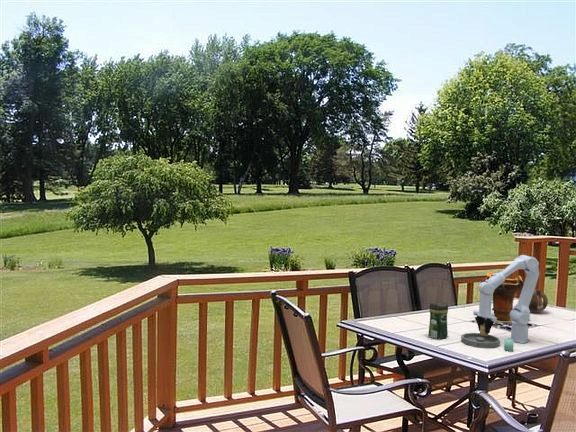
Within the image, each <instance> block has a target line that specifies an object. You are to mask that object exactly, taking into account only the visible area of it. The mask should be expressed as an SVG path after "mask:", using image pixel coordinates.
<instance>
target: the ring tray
mask: <svg viewBox="0 0 576 432" xmlns="http://www.w3.org/2000/svg"><path fill="white" fill-rule="evenodd" d="M460 338H461V343H463V344H464V345H467V346H469V347H472V348H473V347H474V348H481V349H494V348H498V347H499V346H500V344H501V340H500V338H499V337H497V336H495V335H493V334H488V336H482V335H480V332H479V333H478V332H467V333H463V334H461V335H460Z"/></svg>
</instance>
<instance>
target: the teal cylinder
mask: <svg viewBox="0 0 576 432" xmlns="http://www.w3.org/2000/svg"><path fill="white" fill-rule="evenodd" d="M503 345H504V346H503V348H504V349H503V351H504V350H505V351H504V352H507V351H508V352H509V353H512V352H514V341H513V340H510V338H506V339H504V344H503Z"/></svg>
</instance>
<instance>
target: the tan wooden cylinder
mask: <svg viewBox="0 0 576 432" xmlns="http://www.w3.org/2000/svg"><path fill="white" fill-rule="evenodd" d="M479 333H480V335H482V336H488V335H489V333H488V334H486V333H485V324H481V325H480V331H479Z"/></svg>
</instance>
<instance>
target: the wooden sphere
mask: <svg viewBox="0 0 576 432" xmlns="http://www.w3.org/2000/svg"><path fill="white" fill-rule="evenodd" d="M548 301H549V300H548V297H547V295H546V293H544V291H542V290H540V289H537V288H535V289H534V292H533V295H532V298H531V301H530V304H529V310H530V313H532V314H534V313H535V314H537V313H541V312H543V311H545V310H546V308H547V307H548V303H549V302H548Z"/></svg>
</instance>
